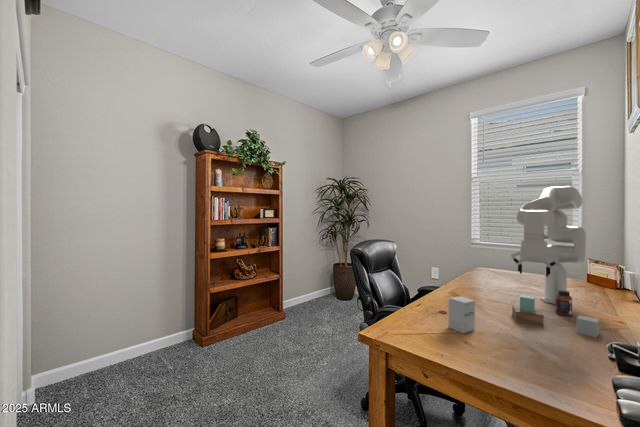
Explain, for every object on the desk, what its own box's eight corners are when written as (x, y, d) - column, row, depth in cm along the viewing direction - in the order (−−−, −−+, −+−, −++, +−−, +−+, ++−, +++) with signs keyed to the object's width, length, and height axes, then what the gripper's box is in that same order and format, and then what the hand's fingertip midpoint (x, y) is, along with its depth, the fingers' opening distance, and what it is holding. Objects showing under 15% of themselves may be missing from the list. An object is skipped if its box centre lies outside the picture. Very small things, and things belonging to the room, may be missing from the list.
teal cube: (521, 307, 132) (521, 294, 132) (534, 309, 129) (534, 296, 129) (519, 309, 128) (520, 296, 128) (533, 312, 125) (533, 299, 125)
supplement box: (463, 334, 113) (464, 302, 113) (447, 327, 120) (448, 297, 120) (475, 330, 117) (475, 300, 117) (459, 324, 123) (459, 295, 123)
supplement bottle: (575, 317, 133) (575, 293, 132) (560, 316, 134) (560, 292, 134) (566, 312, 138) (567, 289, 138) (553, 311, 140) (553, 289, 140)
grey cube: (579, 328, 119) (579, 314, 119) (599, 333, 114) (599, 319, 114) (576, 332, 115) (576, 318, 115) (596, 337, 111) (596, 322, 111)
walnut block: (512, 315, 135) (512, 305, 135) (537, 318, 131) (538, 308, 131) (515, 322, 126) (516, 311, 126) (543, 326, 122) (543, 315, 122)
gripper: (558, 237, 126) (557, 275, 126) (511, 235, 137) (511, 270, 137) (559, 239, 120) (558, 278, 120) (510, 236, 131) (510, 273, 131)
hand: (533, 274), depth 129 cm, fingers open, 9 cm apart
